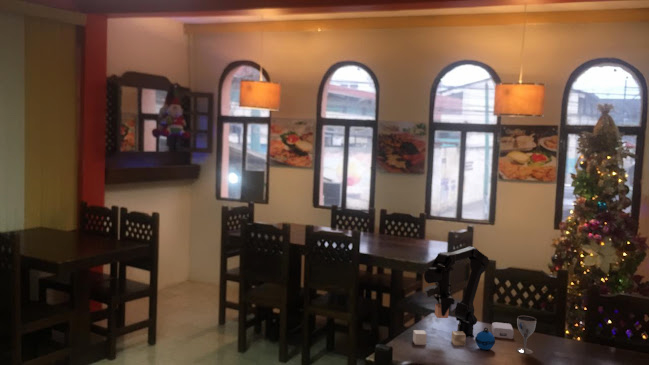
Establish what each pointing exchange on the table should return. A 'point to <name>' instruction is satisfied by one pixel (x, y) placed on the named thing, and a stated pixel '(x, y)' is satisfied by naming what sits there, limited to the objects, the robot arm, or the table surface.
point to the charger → (502, 330)
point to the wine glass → (525, 331)
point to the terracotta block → (438, 311)
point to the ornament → (485, 339)
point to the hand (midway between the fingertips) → (441, 314)
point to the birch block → (458, 338)
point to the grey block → (419, 337)
